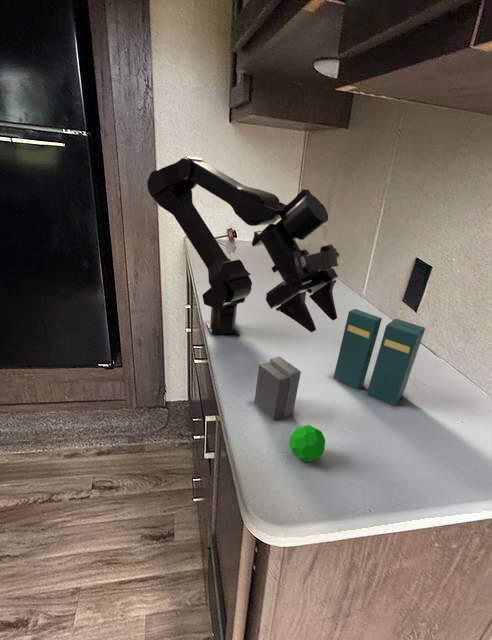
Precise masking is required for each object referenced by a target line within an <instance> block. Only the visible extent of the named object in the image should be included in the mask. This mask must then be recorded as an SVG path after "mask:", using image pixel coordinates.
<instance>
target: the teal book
mask: <svg viewBox="0 0 492 640" xmlns="http://www.w3.org/2000/svg"><path fill="white" fill-rule="evenodd" d="M382 321H383V318H382V317H379V316H377V315H374V314H371V313H368V312H366V311H363V310H360V309H358V308H354V309H351V310H349V311H348V314H347V318H346V323H345V327H344V330H343V335H342V339H341V343H340V348H339V351H338V356H337V360H336V365H335V369H334V374H333V377H332V378H333V379H335V380H336V381H339V382H341V383H343V384H345V385H347V386H350V387H351V388H354V389H356V390H359V389H361V388H362V387H363V386H364V384H365V380H366V377H367V374H368V370H369V366H370V362H371V360H372V359H371V358H372V355H373V352H374V350H375V349H374V348H375V344H376V342H377V337H378V334H379V331H380V327H381V323H382Z"/></svg>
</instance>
